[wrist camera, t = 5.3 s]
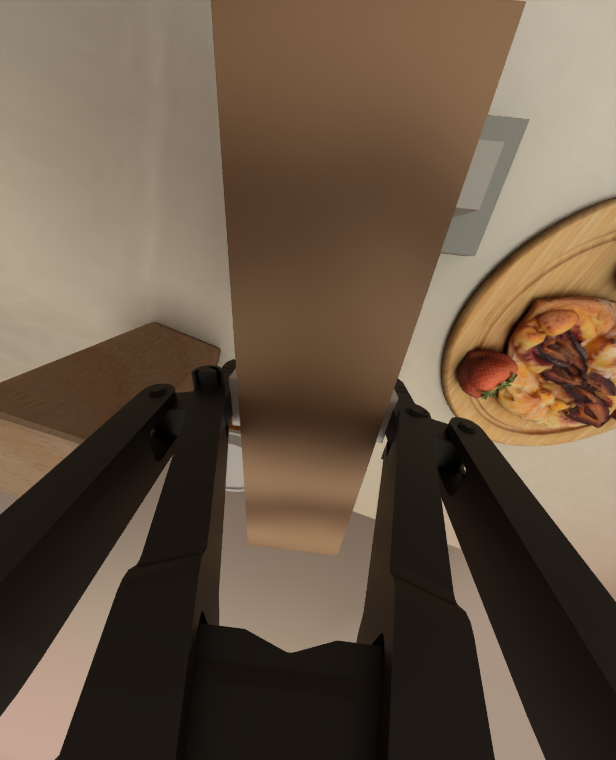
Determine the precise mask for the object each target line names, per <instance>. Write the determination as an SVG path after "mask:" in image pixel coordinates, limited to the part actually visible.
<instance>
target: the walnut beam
mask: <svg viewBox="0 0 616 760" xmlns="http://www.w3.org/2000/svg"><path fill="white" fill-rule="evenodd" d="M525 3H526V2H525V1H515V0H211V8H212V23H213V38H214V52H215V67H216V81H217V96H218V110H219V125H220V140H221V154H222V169H223V183H224V198H225V212H226V227H227V242H228V256H229V271H230V285H231V300H232V315H233V329H234V344H235V358H236V373H237V387H238V402H239V417H240V431H241V446H242V460H243V475H244V489H245V504H246V519H247V533H248V545H253V546H261V547H270V548H278V549H286V550H295V551H302V552H310V553H318V554H327V555H335V556H337V554H338V552H339V549H340V546H341V543H342V540H343V537H344V534H345V531H346V528H347V525H348V522H349V519H350V516H351V514H352V511H353V508H354V505H355V502H356V499H357V496H358V493H359V490H360V487H361V484H362V481H363V478H364V475H365V473H366V470H367V467H368V464H369V461H370V458H371V455H372V452H373V449H374V446H375V443H376V440H377V437H378V434H379V431H380V429H381V426H382V423H383V420H384V417H385V414H386V411H387V408H388V405H389V402H390V399H391V396H392V393H393V390H394V387H395V385H396V382H397V379H398V376H399V373H400V370H401V367H402V364H403V361H404V358H405V355H406V352H407V349H408V346H409V343H410V340H411V338H412V335H413V332H414V329H415V326H416V323H417V320H418V317H419V314H420V311H421V308H422V305H423V302H424V299H425V296H426V294H427V291H428V288H429V285H430V282H431V279H432V276H433V273H434V270H435V267H436V264H437V261H438V258H439V255H440V252H441V250H442V247H443V244H444V241H445V238H446V235H447V232H448V229H449V226H450V223H451V220H452V217H453V214H454V211H455V208H456V206H457V203H458V200H459V197H460V194H461V191H462V188H463V185H464V182H465V179H466V176H467V173H468V170H469V167H470V164H471V162H472V159H473V156H474V153H475V150H476V147H477V144H478V141H479V138H480V135H481V132H482V129H483V126H484V123H485V120H486V118H487V115H488V112H489V109H490V106H491V103H492V100H493V97H494V94H495V91H496V88H497V85H498V82H499V79H500V76H501V74H502V71H503V68H504V65H505V62H506V59H507V56H508V53H509V50H510V47H511V44H512V41H513V38H514V35H515V32H516V30H517V27H518V24H519V21H520V18H521V15H522V12H523V9H524V6H525Z"/></svg>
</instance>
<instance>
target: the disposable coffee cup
mask: <svg viewBox="0 0 616 760" xmlns="http://www.w3.org/2000/svg"><path fill="white" fill-rule="evenodd" d="M225 490H227V491H235V492H239V491H245V489H244V475H243V460H242V446H241V431H240V426H238V425H233V422H232V417H231V419H230V421H229V441H228V457H227V472H226V488H225Z"/></svg>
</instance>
